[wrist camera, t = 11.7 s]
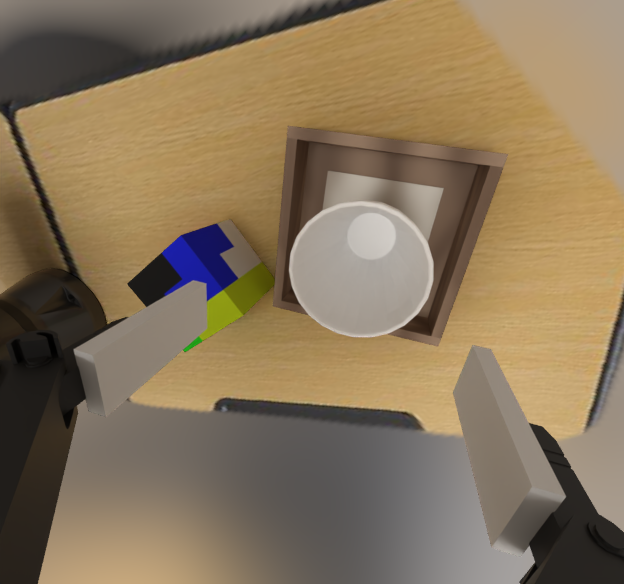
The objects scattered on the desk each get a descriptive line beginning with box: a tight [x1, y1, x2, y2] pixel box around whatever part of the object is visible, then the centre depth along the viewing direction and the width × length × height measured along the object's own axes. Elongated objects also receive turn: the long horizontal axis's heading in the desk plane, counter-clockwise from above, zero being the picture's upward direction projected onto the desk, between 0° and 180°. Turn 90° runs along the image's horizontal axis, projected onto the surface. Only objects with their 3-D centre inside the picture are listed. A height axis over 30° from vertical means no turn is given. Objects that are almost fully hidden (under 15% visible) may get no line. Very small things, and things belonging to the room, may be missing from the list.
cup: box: [289, 200, 434, 337], centre depth 28 cm, size 10×10×14 cm
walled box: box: [273, 126, 508, 346], centre depth 33 cm, size 19×19×5 cm
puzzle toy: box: [128, 219, 275, 352], centre depth 37 cm, size 10×10×10 cm
